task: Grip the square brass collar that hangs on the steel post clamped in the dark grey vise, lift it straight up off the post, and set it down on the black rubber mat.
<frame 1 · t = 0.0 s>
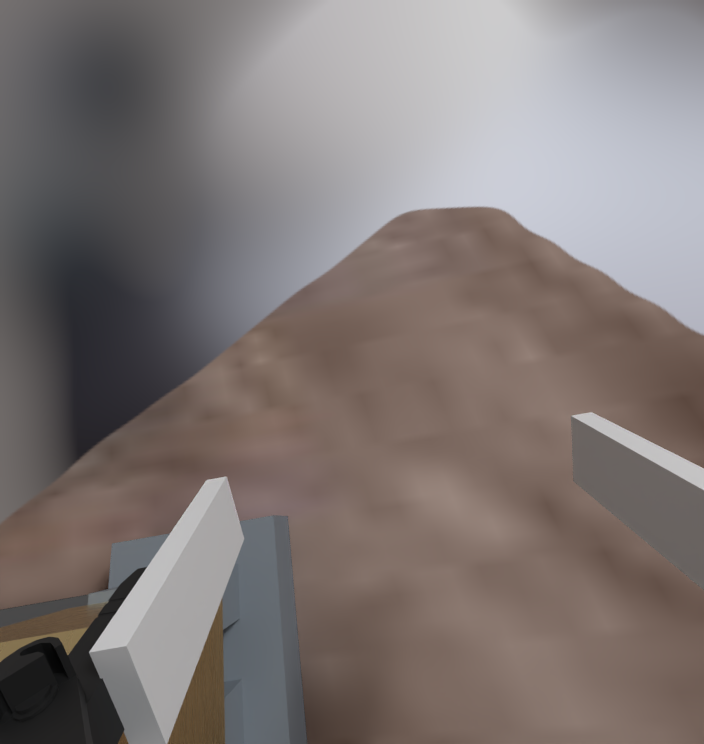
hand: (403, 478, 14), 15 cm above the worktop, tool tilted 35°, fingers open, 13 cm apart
rubber mat: (31, 703, 25), on the worktop
brass collar: (140, 693, 17), point 9 cm above the worktop, touching vise
vise: (219, 636, 25), on the worktop
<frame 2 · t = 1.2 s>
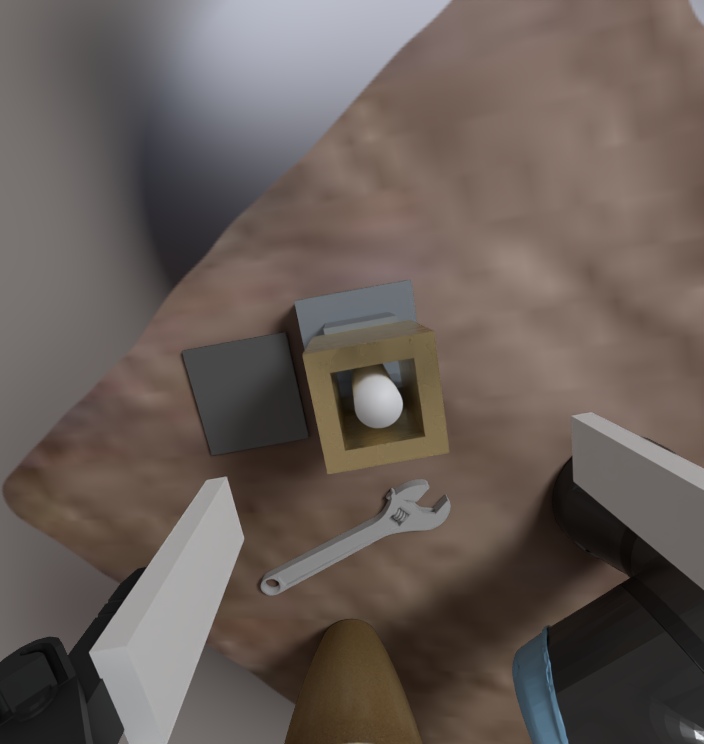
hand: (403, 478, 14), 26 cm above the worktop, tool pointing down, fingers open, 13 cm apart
rubber mat: (248, 394, 40), on the worktop
plant pot: (350, 638, 48), on the worktop
brass collar: (368, 375, 30), point 9 cm above the worktop, touching vise
adjustable wrench: (349, 530, 45), on the worktop
vise: (362, 355, 39), on the worktop
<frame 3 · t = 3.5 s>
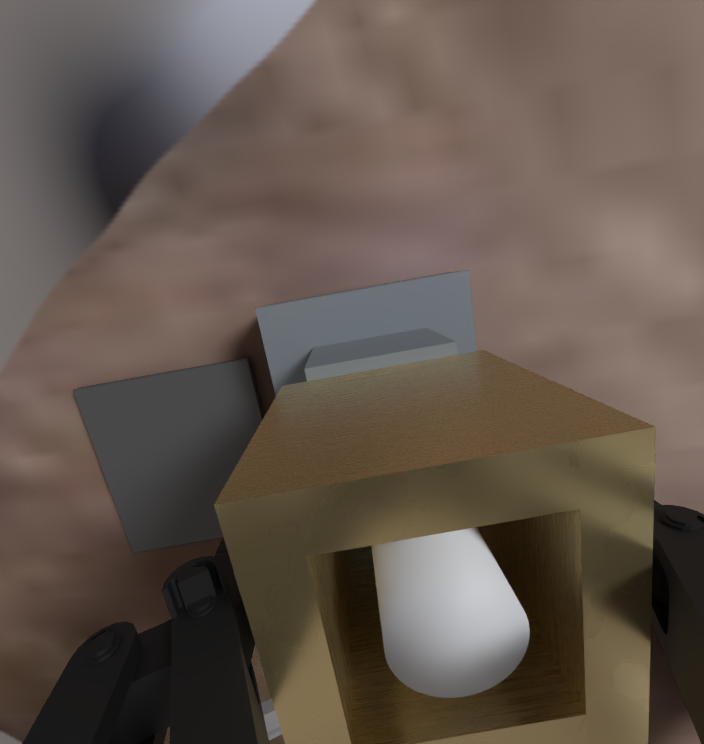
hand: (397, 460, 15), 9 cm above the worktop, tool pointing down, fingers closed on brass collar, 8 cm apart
rubber mat: (190, 457, 25), on the worktop
brass collar: (396, 459, 15), point 9 cm above the worktop, touching gripper, vise
adjustable wrench: (350, 657, 30), on the worktop
vise: (375, 396, 24), on the worktop
when the fingers open (2 cm above the worktop, at t = 12.2 s): brass collar drops 2 cm, resting on rubber mat.
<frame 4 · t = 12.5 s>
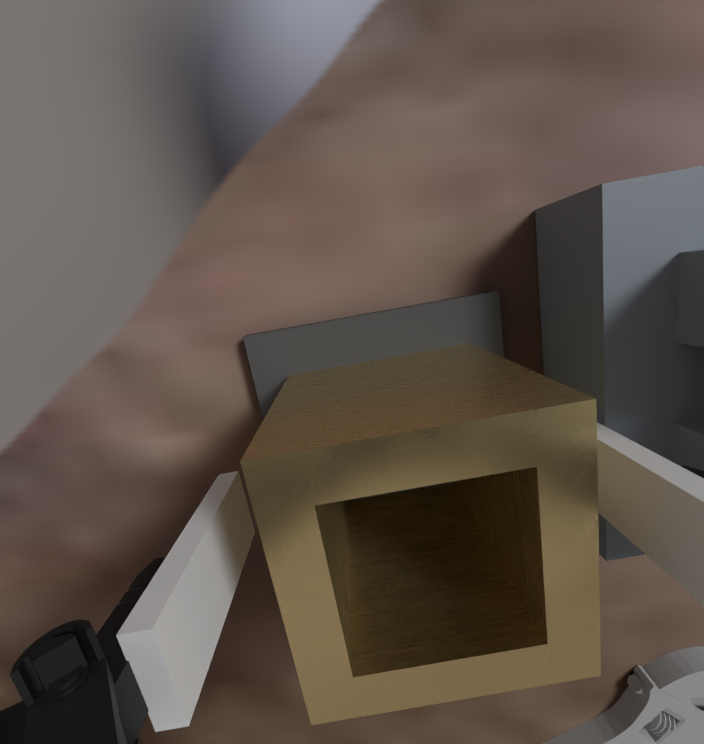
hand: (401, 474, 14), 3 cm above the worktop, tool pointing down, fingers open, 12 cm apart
rubber mat: (389, 438, 17), on the worktop
brass collar: (392, 443, 17), point 1 cm above the worktop, touching rubber mat
adjustable wrench: (540, 735, 23), on the worktop
vise: (661, 349, 17), on the worktop
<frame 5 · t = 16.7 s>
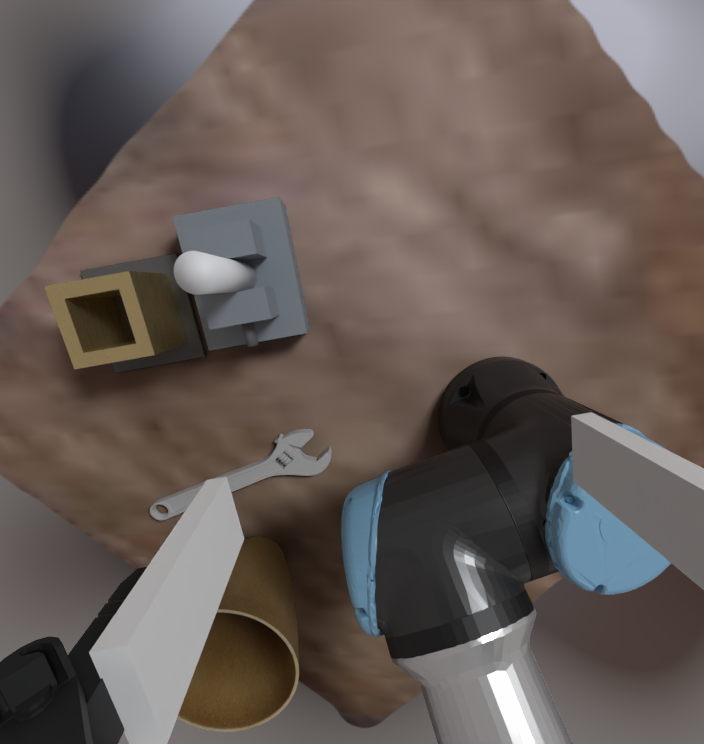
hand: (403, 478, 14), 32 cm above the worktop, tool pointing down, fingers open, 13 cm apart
rubber mat: (147, 314, 43), on the worktop
plant pot: (258, 555, 51), on the worktop
brass collar: (144, 315, 42), point 1 cm above the worktop, touching rubber mat
adjustable wrench: (240, 469, 49), on the worktop
vise: (251, 278, 42), on the worktop
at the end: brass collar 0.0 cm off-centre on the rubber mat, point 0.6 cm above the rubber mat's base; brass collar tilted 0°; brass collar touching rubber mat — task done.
